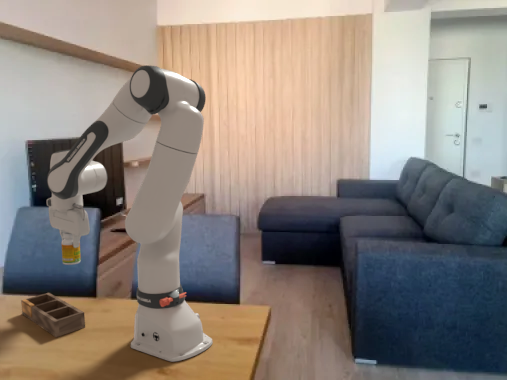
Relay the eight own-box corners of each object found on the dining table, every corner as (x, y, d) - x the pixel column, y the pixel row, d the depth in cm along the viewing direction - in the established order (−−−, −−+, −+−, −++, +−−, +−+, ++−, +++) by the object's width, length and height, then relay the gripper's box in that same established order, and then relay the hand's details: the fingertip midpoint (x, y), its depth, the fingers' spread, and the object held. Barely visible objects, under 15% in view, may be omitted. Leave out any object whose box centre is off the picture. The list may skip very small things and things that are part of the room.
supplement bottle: (76, 265, 143) (74, 234, 142) (59, 265, 143) (57, 234, 142) (83, 260, 148) (81, 230, 147) (67, 260, 149) (65, 230, 147)
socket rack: (85, 327, 132) (84, 311, 132) (55, 337, 126) (53, 321, 125) (49, 305, 148) (48, 291, 148) (21, 314, 142) (20, 299, 141)
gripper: (93, 204, 138) (96, 249, 140) (63, 197, 152) (66, 238, 154) (73, 207, 134) (76, 253, 136) (44, 199, 148) (47, 241, 150)
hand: (70, 245), depth 145 cm, fingers closed on supplement bottle, 5 cm apart
